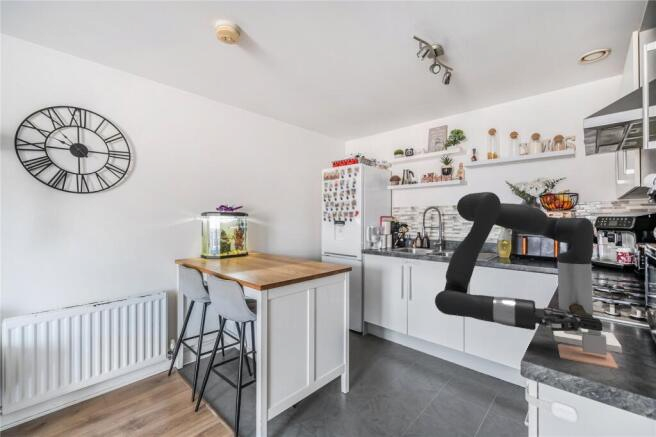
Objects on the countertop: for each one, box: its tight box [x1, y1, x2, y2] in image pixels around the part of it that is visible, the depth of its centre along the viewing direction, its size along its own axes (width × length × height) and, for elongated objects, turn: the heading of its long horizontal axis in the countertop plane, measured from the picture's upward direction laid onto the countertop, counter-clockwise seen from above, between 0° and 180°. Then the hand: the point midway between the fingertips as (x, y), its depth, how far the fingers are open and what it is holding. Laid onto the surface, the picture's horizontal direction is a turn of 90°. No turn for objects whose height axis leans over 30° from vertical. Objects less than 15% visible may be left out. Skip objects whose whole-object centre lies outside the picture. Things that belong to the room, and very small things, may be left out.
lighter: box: [569, 315, 608, 355], centre depth 69 cm, size 7×2×8 cm, turn 55°
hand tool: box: [569, 304, 594, 329], centre depth 91 cm, size 19×4×5 cm, turn 147°
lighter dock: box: [552, 328, 623, 354], centre depth 79 cm, size 10×13×2 cm
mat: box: [557, 343, 619, 370], centre depth 69 cm, size 8×10×1 cm
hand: (601, 325), depth 68 cm, fingers closed on lighter, 1 cm apart
